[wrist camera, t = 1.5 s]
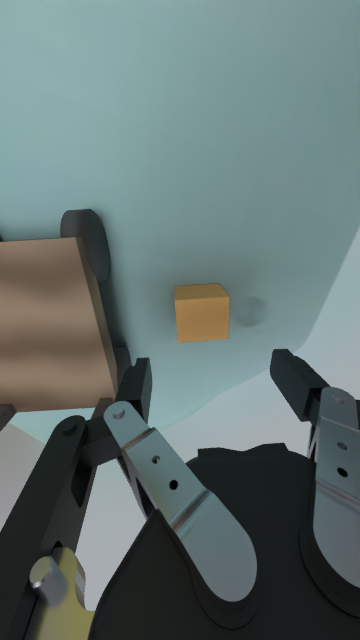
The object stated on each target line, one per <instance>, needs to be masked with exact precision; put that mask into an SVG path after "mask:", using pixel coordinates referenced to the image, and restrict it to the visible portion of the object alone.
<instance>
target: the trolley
mask: <svg viewBox="0 0 360 640" xmlns="http://www.w3.org/2000/svg"><path fill="white" fill-rule="evenodd" d="M60 233H61V238H50V239H35V240H20V241H4V242H2V240H1V239H0V431H1V430H2V429H3V428H4V427H5V426H6V424H7V423H8V422H9V421H10V420H11V419H12V417H13V416H14V415H15V414H16V413H17V412H30V411H46V410H62V409H78V408H94V407H96V408H95V411H94V413H93V415H92V417H91V419H93V418H96V417H99V416H101V415H103V414H104V413H105V411H106V409H107V408H108V407H109V406H110V405H112V404H114V401H115V398H116V395H117V392H118V389H119V386H120V383H121V380H122V377H123V374H124V372H125V371H126V370H127V368H128V367H131V360H130V355H129V352H128V350H127V348H126V347H117V348H112V343H111V339H110V335H109V331H108V326H107V322H106V318H105V313H104V309H103V305H102V300H101V296H100V292H99V287H98V283H97V282H101V281H105V280H106V279H107V278H108V275H109V271H110V254H109V247H108V242H107V237H106V234H105V231H104V228H103V225H102V223H101V221H100V219H99V217H98V216H97V214H96V213H95V212H94V211H93V210H91V209H83V210H69V211H66V212H65V213H64V215H63V217H62V220H61V227H60Z"/></svg>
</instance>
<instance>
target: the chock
mask: <svg viewBox="0 0 360 640" xmlns="http://www.w3.org/2000/svg"><path fill="white" fill-rule="evenodd" d="M229 304H230V297H229V295H228V294H227V293H226V291H225V290H224V289H223V288H222V286H221V285H220V284H219V283H215V284H199V285H184V286H175V311H176V324H177V338H178V342H191V341H206V340H221V339H228V326H229Z"/></svg>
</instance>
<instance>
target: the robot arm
mask: <svg viewBox="0 0 360 640" xmlns="http://www.w3.org/2000/svg"><path fill="white" fill-rule="evenodd" d="M270 375H271V378H272V379H273V381H274V382H275V384H276V385H277V387H278V388H279V390H280V391H281V393H282V394H283V396H284V397H285V399H286V400H287V402H288V403H289V405H290V406H291V408H292V409H293V411H294V412H295V414H296V415H297V417H298V418H299V419H300V421H301V422H304V421H310V422H311V424H312V425H311V428H310V436H309V443H308V451H307V457H305V456H303V455H301V454H298V453H296V452H292V451H288V449H287V447H286V445H285V444H284V443H273V444H263V445H260V446H257V447H254V448H252V449H249V450H246V451H236V450H230V449H225V448H205V449H198V457H195V458H193V459H191V460H189V461H188V462H187V463H184V462H183V461H182V459H181V458H180V457H179V456H178V454H177V453H176V452H175V451H174V450H173V449H172V447H171V446H170V445H169V443H168V442H167V441H166V440H165V439H164V437H163V436H162V435H161V434H160V433H159V431H158V430H157V429H156V428H154V427H153V428H151V429H150V428H149V426H148V425H147V423H148V415H149V407H150V399H151V391H152V373H151V366H150V359H149V357H147V358H137V361H136V364H135V366H131V367H128V368H127V370H126V371H125V372H124V374H123V377H122V380H121V383H120V386H119V389H118V392H117V395H116V398H115V401H114V404H112V405H110V406H109V407H108V408H107V409H106V411H105V413H104V414H103V415H101V416H99V417H96V418H93V419H90V420H87V421H86V420H85V418H84V417H82V416H80V415H74V416H70V417H68V418H66V419H64V420H62V421H61V422H60V423H59V424H58V425H57V426H56V427H55V429H54V430H53V432H52V434H51V436H50V438H49V440H48V442H47V444H46V446H45V448H44V450H43V451H42V453H41V455H40V457H39V459H38V461H37V463H36V465H35V467H34V469H33V471H32V473H31V475H30V476H29V478H28V480H27V482H26V484H25V486H24V488H23V490H22V492H21V494H20V496H19V498H18V499H17V501H16V503H15V505H14V507H13V509H12V511H11V513H10V515H9V517H8V519H7V520H6V522H5V524H4V526H3V528H2V530H1V532H0V640H360V400H355V399H354V397H353V396H351V395H350V394H349V393H348V392H346V391H344V390H342V389H339V388H335V387H330V386H329V384H327V382H326V381H324V380H323V379H322V378H321V376H319V375H318V374H317V373H316V372H315V371H314V370H313V369H312V368H311V367H310V366H309V365H308V364H307V363H306V362H305V361H304V360H302V359H301V358H299V357H297V356H294V355H293V354H292V353H291V352H290V351H289V350H288V349H274V350H273V352H272V359H271V365H270ZM115 458H116V460H117V461H118V463H119V465H120V467H121V469H122V471H123V473H124V475H125V476H126V478H127V481H128V482H129V484H130V486H131V488H132V490H133V493H134V495H135V498H136V500H137V502H138V505H139V507H140V509H141V511H142V513H143V515H144V517H145V519H146V523H145V524H144V526H143V528H142V529H141V531H140V532H139V534H138V536H137V537H136V539H135V541H134V542H133V544H132V546H131V547H130V549H129V551H128V552H127V554H126V555H125V557H124V558H123V560H122V562H121V564H120V565H119V567H118V568H117V570H116V571H115V573H114V575H113V576H112V578H111V580H110V581H109V583H108V585H107V586H106V588H105V590H104V592H103V594H102V596H101V598H100V600H99V603H98V605H97V608H96V611H88V610H86V609H85V604H84V592H85V572H84V569H83V568H82V566H81V564H80V562H79V561H78V559H77V557H76V556H75V551H76V548H77V543H78V539H79V536H80V532H81V528H82V524H83V520H84V516H85V513H86V509H87V504H88V501H89V497H90V493H91V489H92V485H93V481H94V478H95V474H96V470H97V466H98V465H100V464H103V463H105V462H108V461H110V460H113V459H115Z"/></svg>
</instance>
